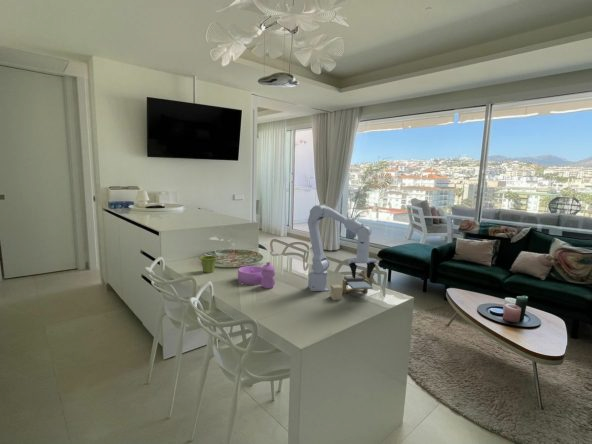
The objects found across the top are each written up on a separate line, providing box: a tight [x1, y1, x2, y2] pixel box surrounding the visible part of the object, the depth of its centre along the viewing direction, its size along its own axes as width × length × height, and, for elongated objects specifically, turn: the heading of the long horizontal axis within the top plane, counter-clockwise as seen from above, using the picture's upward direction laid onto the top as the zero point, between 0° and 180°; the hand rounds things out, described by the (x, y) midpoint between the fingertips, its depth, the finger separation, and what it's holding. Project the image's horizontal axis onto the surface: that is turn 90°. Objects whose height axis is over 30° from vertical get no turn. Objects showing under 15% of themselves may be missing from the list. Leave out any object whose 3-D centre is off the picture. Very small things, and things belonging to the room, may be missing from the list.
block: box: [329, 284, 343, 301], centre depth 158 cm, size 4×4×6 cm
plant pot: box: [199, 255, 218, 274], centre depth 192 cm, size 9×9×9 cm
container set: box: [237, 261, 276, 289], centre depth 175 cm, size 25×15×13 cm, turn 45°
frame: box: [341, 279, 369, 294], centre depth 168 cm, size 13×5×7 cm, turn 101°
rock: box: [357, 269, 375, 287], centre depth 179 cm, size 12×7×10 cm, turn 122°
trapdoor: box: [343, 275, 373, 290], centre depth 164 cm, size 10×14×4 cm
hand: (361, 277), depth 160 cm, fingers open, 7 cm apart
